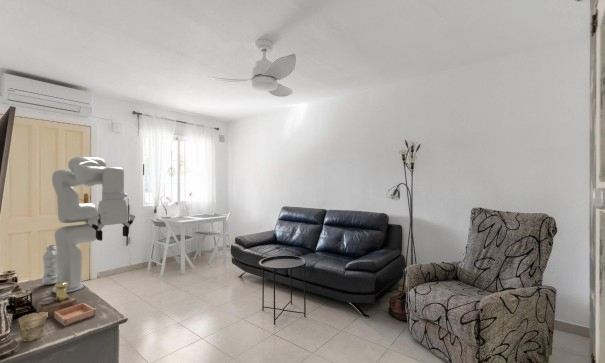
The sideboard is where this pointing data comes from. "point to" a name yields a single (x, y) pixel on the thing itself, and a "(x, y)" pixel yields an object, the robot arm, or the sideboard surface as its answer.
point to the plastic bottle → (50, 265)
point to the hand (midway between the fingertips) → (112, 238)
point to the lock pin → (61, 291)
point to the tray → (74, 314)
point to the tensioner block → (54, 305)
